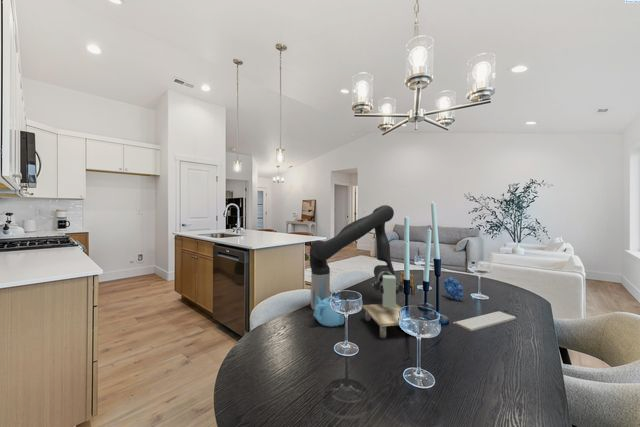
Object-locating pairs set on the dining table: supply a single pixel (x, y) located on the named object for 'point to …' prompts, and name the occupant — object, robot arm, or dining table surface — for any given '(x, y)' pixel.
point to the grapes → (453, 288)
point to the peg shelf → (382, 316)
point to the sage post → (389, 291)
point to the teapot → (327, 313)
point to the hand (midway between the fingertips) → (389, 291)
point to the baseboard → (485, 320)
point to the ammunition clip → (410, 281)
